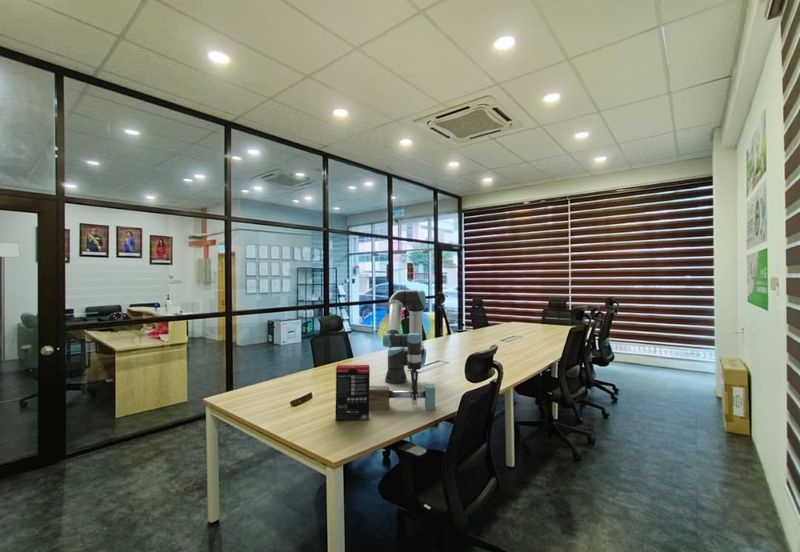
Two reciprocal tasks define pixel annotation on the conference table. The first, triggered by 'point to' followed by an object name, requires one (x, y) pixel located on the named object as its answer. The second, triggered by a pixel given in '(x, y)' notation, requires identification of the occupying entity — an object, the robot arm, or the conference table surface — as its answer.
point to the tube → (406, 394)
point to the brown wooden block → (378, 397)
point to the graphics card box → (352, 392)
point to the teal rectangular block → (430, 397)
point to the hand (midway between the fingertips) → (414, 403)
